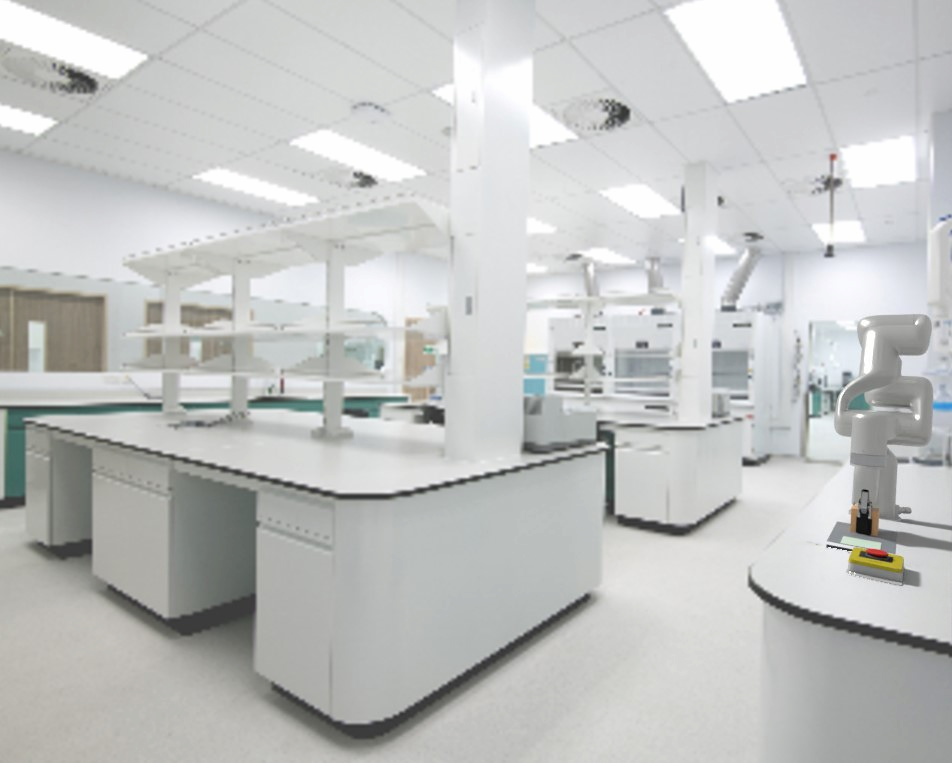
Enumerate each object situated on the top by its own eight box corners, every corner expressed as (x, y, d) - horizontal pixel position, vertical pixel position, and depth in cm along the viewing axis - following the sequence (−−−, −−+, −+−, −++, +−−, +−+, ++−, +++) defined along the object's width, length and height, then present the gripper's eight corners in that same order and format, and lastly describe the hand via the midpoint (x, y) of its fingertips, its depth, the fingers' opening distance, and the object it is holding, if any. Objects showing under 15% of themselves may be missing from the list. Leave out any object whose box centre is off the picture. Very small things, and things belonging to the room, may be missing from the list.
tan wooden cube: (851, 527, 144) (853, 502, 144) (878, 531, 141) (879, 505, 140) (850, 531, 140) (851, 505, 139) (877, 536, 136) (878, 509, 136)
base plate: (836, 526, 150) (837, 505, 149) (896, 537, 141) (897, 514, 141) (826, 547, 131) (827, 522, 131) (894, 560, 123) (896, 534, 123)
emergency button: (905, 549, 119) (903, 567, 107) (904, 569, 119) (902, 589, 107) (853, 539, 124) (846, 555, 113) (852, 558, 125) (845, 576, 113)
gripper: (852, 455, 149) (849, 521, 149) (847, 462, 135) (843, 535, 136) (887, 459, 144) (883, 527, 144) (885, 466, 131) (881, 542, 131)
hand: (864, 530), depth 140 cm, fingers closed on tan wooden cube, 5 cm apart
